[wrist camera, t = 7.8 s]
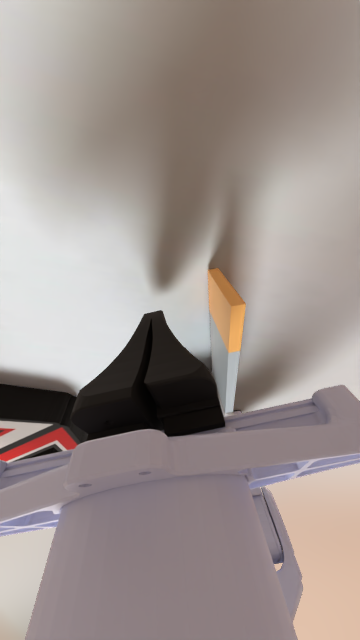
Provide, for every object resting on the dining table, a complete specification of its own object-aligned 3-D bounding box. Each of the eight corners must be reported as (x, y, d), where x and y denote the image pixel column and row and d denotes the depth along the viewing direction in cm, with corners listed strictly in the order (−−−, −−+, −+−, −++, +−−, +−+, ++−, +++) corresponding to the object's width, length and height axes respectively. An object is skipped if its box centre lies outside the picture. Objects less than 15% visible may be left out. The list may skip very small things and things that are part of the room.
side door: (210, 376, 22) (223, 417, 18) (205, 270, 13) (228, 307, 9) (219, 374, 22) (233, 415, 18) (220, 267, 13) (248, 303, 9)
